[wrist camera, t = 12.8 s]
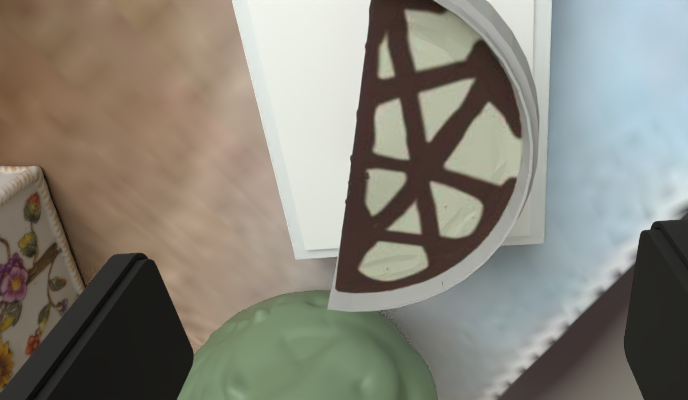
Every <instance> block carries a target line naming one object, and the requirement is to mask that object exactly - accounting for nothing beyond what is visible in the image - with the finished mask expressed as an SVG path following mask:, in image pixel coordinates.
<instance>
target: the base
mask: <svg viewBox="0 0 688 400" xmlns="http://www.w3.org/2000/svg"><path fill="white" fill-rule="evenodd" d="M486 1H488V2H489V3H490V4H491V5H492V6H493V7H494V9H495V10H496V11H497V12H498V14H499V15H500V16H501V18H502V19H503V20H504V21H505V23H506V24H507V25H508V26H509V28H510V29H511V30H512V32H513V34H514V36H515V37H516V39H517V41H518V43H519V45H520V47H521V49H522V51H523V53H524V55H525V56H526V58H527V61H528V64H529V67H530V71H531V74H532V77H533V80H534V83H535V86H536V92H537V100H538V108H539V116H540V120H539V146H538V163H537V168H536V172H535V176H534V180H533V184H532V189H531V192H530V194H529V196H528V199H527V201H526V203H525V206H524V208H523V210H522V212H521V215H520V216H519V218H518V220H517V221H516V223H515V224H514V226H513V228H512V229H511V231H510V232H509V234H508V235H507V237H506V238H505V240H504V242H503V243H502V245H501V246H512V245H528V244H543V243H544V232H545V201H546V170H547V139H548V107H549V76H550V45H551V14H552V0H486ZM370 2H371V0H232V3H233V7H234V11H235V15H236V19H237V23H238V27H239V31H240V35H241V39H242V43H243V47H244V51H245V55H246V60H247V64H248V68H249V72H250V76H251V80H252V84H253V88H254V92H255V96H256V100H257V104H258V108H259V112H260V116H261V120H262V124H263V128H264V132H265V136H266V141H267V145H268V149H269V153H270V157H271V161H272V165H273V169H274V173H275V177H276V181H277V185H278V189H279V193H280V197H281V201H282V205H283V209H284V213H285V217H286V222H287V226H288V230H289V234H290V238H291V242H292V246H293V250H294V254H295V258H296V259H309V258H325V257H338V252H339V247H340V242H341V234H342V226H343V220H344V213H345V206H346V204H345V200H346V199H347V191H348V181H349V175H350V167H351V161H350V156H351V155H352V151H353V144H354V136H355V129H356V121H357V120H356V112H357V109H358V105H359V97H360V88H361V79H362V72H363V64H364V57H365V50H366V49H365V43H366V42H367V34H368V25H369V6H370Z"/></svg>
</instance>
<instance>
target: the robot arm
mask: <svg viewBox="0 0 688 400" xmlns="http://www.w3.org/2000/svg"><path fill="white" fill-rule="evenodd" d="M624 349H625V354H626V358H627V361H628V363H629V366H630V368H631V370H632V372H633V375H634V377H635V379H636V382H637V384H638V386H639V389H640V391H641V393H642V396H643V398H644V400H688V219H685V220H668V221H656V222H654V223H653V224H652V226H651V229H650V230H644V231H642V232H641V234H640V238H639V245H638V251H637V258H636V264H635V271H634V278H633V284H632V291H631V297H630V304H629V310H628V317H627V323H626V330H625V336H624ZM193 360H194V354H193V349H192V347H191V344H190V342H189V340H188V337H187V335H186V333H185V330H184V328H183V326H182V324H181V321H180V319H179V317H178V314H177V312H176V310H175V307H174V305H173V303H172V300H171V298H170V296H169V293H168V291H167V289H166V286H165V284H164V282H163V280H162V277H161V275H160V273H159V270H158V268H157V266H156V264H155V262H154V261H153V260H151V259H148V257H147V256H146V255H145V254H143V253H129V254H116V255H113V256H112V257H111V258H110V259H109V260H108V261H107V262H106V264H105V265H104V266H103V267H102V269H101V270H100V271H99V272H98V274H97V275H96V276H95V277H94V278H93V280H92V281H91V282H90V283H89V285H88V286H87V287H86V288H85V289H84V291H83V292H82V293H81V294H80V296H79V297H78V298H77V299H76V301H75V302H74V303H73V304H72V305H71V307H70V308H69V309H68V310H67V312H66V313H65V314H64V315H63V317H62V318H61V319H60V320H59V321H58V323H57V324H56V325H55V326H54V328H53V329H52V330H51V331H50V333H49V334H48V335H47V336H46V337H45V339H44V340H43V341H42V342H41V344H40V345H39V346H38V347H37V349H36V350H35V351H34V352H33V353H32V355H31V356H30V357H29V358H28V360H27V361H26V362H25V363H24V365H23V366H22V367H21V368H20V369H19V371H18V372H17V373H16V374H15V376H14V377H13V378H12V379H11V381H10V382H9V383H8V384H7V385H6V387H5V388H4V389H3V390H2V392H1V393H0V400H177V398H178V396H179V394H180V392H181V390H182V387H183V385H184V383H185V381H186V379H187V377H188V375H189V372H190V370H191V368H192V365H193Z"/></svg>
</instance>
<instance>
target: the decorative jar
mask: <svg viewBox="0 0 688 400" xmlns="http://www.w3.org/2000/svg"><path fill="white" fill-rule="evenodd" d="M84 289H85V287H84V284H83V282H82V279H81V277H80V274H79V271H78V269H77V266H76V264H75V261H74V259H73V256H72V254H71V252H70V248H69V245H68V242H67V239H66V236H65V233H64V230H63V228H62V225H61V222H60V220H59V217H58V214H57V212H56V209H55V207H54V204H53V202H52V199H51V197H50V193H49V190H48V186H47V183H46V181H45V179H44V175H43V172H42V169H41V168H40V167H39V166H25V167H22V166H17V167H13V166H0V393H1V392H2V390H3V389H4V388H5V387H6V385H7V384H8V383H9V382H10V381H11V379H12V378H13V377H14V376H15V374H16V373H17V372H18V371H19V369H20V368H21V367H22V366H23V365H24V363H25V362H26V361H27V360H28V358H29V357H30V356H31V355H32V353H33V352H34V351H35V350H36V349H37V347H38V346H39V345H40V344H41V342H42V341H43V340H44V339H45V337H46V336H47V335H48V334H49V333H50V331H51V330H52V329H53V328H54V326H55V325H56V324H57V323H58V321H59V320H60V319H61V318H62V317H63V315H64V314H65V313H66V312H67V310H68V309H69V308H70V307H71V305H72V304H73V303H74V302H75V301H76V299H77V298H78V297H79V296H80V294H81V293H82V292H83V291H84Z"/></svg>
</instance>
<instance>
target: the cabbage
mask: <svg viewBox="0 0 688 400" xmlns="http://www.w3.org/2000/svg"><path fill="white" fill-rule="evenodd" d="M330 293H331V291H323V290H314V291H305V292H294V293H287V294H283V295H279V296H276V297H273V298H270V299H267V300H264V301H262V302H260V303H257V304H255V305H253V306H251V307H249V308H247V309H245V310H243V311H241V312H239V313H237V314H236V315H234V316H233V317H232V318H231V319H230V320H228V321H227V322H225V323H224V324H223V326H222V327H220V328H219V329H218V330H216V331H215V332H213V333H212V334H211V336H210V337H209V339H208V341H207V342H206V343H205V344H204V345H203V346H202V347H201V348H200V349H199V350H198V351H197V352H196V353H195V354H194V360H193V365H192V368H191V370H190V372H189V375H188V377H187V379H186V381H185V383H184V385H183V387H182V390H181V392H180V394H179V396H178V398H177V400H438V397H437V391H436V387H435V383H434V380H433V377H432V374H431V372H430V370H429V368H428V366H427V365H426V363H425V361H424V360H423V358H422V357H421V356H420V354H419V353H418V352H417V351H416V350H415V349H414V348H413V347H412V346H411V345H410V344H409V343H408V342H407V341H406V339H405V338H404V336H403V335H402V333H401V332H400V331H399V329H398V328H397V327H396V326H395V324H394V323H393V322H392V321H391V320H389V319H388V318H387V317H385V316H383V315H382V314H381V313H379V312H378V311H361V312H348V311H337V310H327V308H328V303H329V298H330Z"/></svg>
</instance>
